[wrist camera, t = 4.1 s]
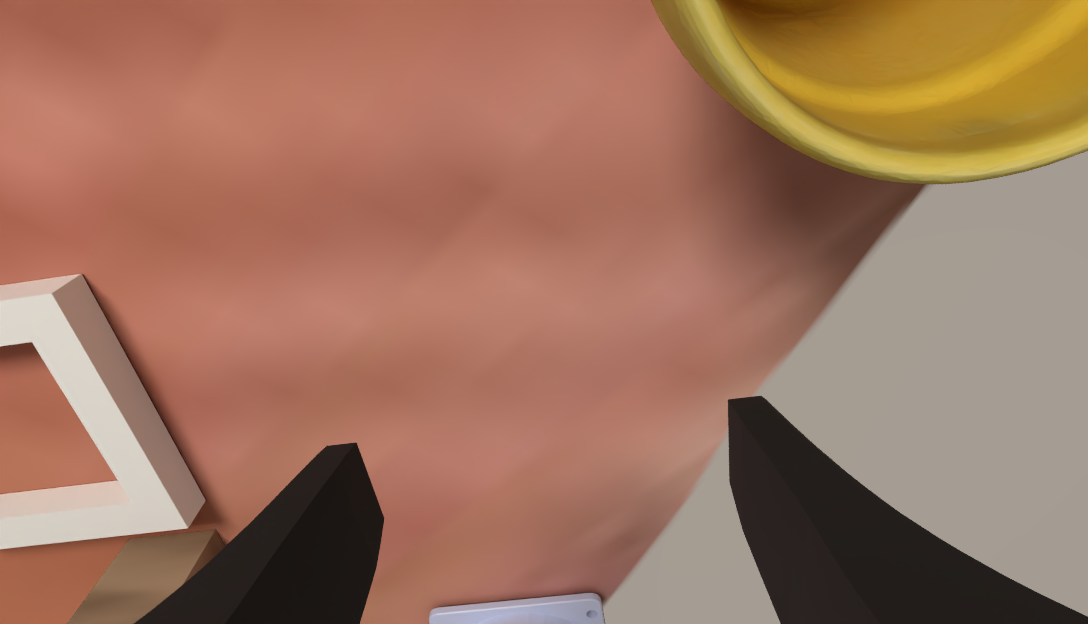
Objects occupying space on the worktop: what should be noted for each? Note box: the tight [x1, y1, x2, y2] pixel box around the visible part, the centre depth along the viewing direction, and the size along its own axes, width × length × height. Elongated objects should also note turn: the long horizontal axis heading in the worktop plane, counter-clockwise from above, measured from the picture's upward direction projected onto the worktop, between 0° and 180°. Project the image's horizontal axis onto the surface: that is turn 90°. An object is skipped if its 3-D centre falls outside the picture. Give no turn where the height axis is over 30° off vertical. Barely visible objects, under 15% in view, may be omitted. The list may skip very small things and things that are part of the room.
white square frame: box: [0, 274, 206, 549], centre depth 24 cm, size 11×11×2 cm
